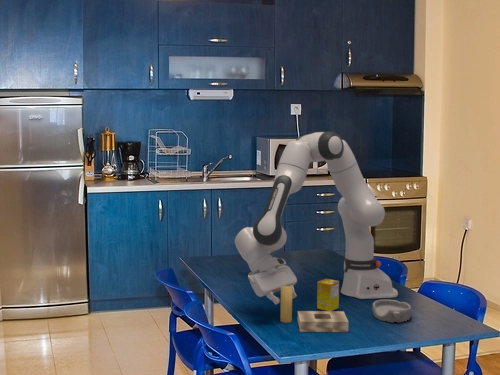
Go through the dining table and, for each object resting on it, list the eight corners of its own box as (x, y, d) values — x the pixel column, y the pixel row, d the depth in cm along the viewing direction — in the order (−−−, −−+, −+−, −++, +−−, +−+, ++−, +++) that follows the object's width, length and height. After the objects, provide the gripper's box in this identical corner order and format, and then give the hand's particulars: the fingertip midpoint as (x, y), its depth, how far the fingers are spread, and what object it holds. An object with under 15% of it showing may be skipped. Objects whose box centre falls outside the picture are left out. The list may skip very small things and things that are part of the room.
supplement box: (325, 306, 268) (325, 278, 266) (339, 310, 264) (339, 281, 263) (316, 310, 263) (316, 281, 262) (330, 313, 259) (330, 284, 258)
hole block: (343, 321, 251) (343, 311, 250) (348, 332, 239) (348, 321, 238) (297, 320, 251) (297, 311, 250) (300, 331, 239) (300, 321, 238)
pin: (291, 319, 253) (291, 285, 251) (292, 322, 249) (292, 288, 247) (280, 319, 253) (280, 285, 251) (280, 322, 249) (281, 288, 247)
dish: (402, 326, 246) (402, 312, 245) (365, 319, 254) (365, 305, 253) (418, 316, 258) (418, 302, 257) (382, 309, 266) (383, 296, 265)
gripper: (250, 268, 245) (273, 301, 240) (286, 258, 261) (308, 289, 256) (240, 278, 248) (262, 311, 243) (277, 268, 264) (298, 299, 259)
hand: (286, 300), depth 250 cm, fingers open, 8 cm apart
